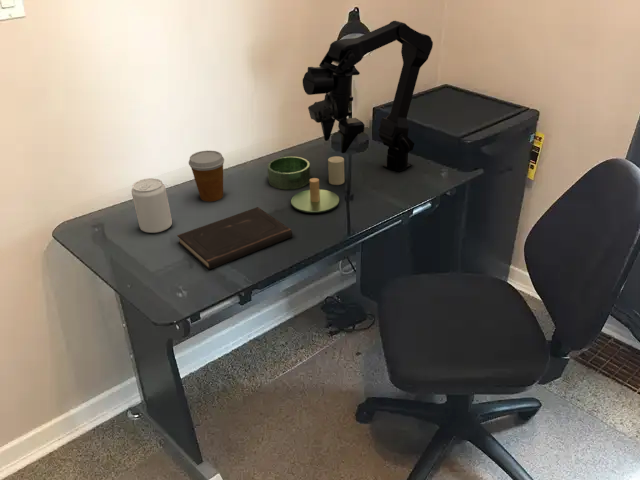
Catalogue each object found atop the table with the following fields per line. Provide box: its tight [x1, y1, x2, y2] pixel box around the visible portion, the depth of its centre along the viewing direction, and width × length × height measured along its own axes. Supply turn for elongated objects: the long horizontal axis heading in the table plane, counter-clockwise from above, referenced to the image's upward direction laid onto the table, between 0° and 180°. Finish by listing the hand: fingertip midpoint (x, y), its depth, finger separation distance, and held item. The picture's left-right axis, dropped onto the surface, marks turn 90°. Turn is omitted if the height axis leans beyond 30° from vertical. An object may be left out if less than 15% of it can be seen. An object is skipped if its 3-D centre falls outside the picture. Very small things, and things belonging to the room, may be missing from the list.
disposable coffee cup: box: [188, 150, 225, 202], centre depth 168 cm, size 10×10×12 cm
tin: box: [266, 156, 312, 191], centre depth 179 cm, size 12×12×5 cm
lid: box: [290, 177, 340, 214], centre depth 166 cm, size 13×13×7 cm
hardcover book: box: [177, 206, 293, 271], centre depth 151 cm, size 16×23×2 cm
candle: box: [327, 155, 345, 186], centre depth 177 cm, size 5×5×7 cm
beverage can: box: [131, 177, 173, 234], centre depth 154 cm, size 8×8×12 cm
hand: (334, 146), depth 172 cm, fingers open, 9 cm apart
